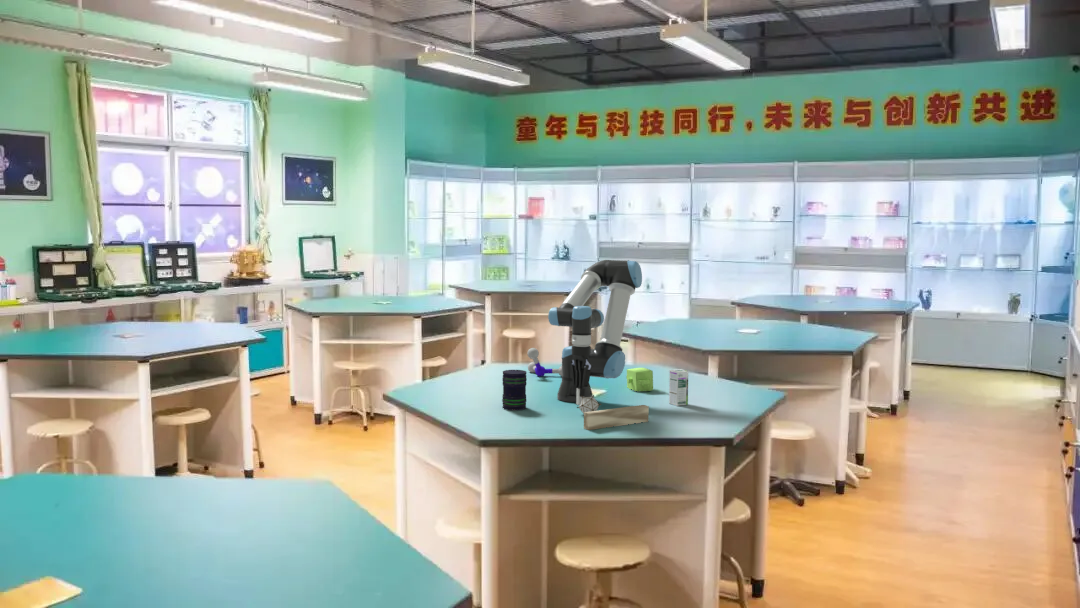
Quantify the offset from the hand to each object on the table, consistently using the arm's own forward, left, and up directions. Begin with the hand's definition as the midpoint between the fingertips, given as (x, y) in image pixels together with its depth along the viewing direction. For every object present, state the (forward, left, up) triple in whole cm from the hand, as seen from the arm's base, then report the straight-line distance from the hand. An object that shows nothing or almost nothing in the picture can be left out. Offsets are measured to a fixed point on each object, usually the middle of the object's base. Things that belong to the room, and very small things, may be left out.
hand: (580, 404), depth 345 cm
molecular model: (-80, +36, -4) cm, 88 cm away
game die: (+6, 0, -4) cm, 7 cm away
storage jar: (-21, -18, -4) cm, 28 cm away
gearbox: (-29, +52, -4) cm, 60 cm away
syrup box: (+6, +46, -4) cm, 47 cm away
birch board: (+24, 0, -4) cm, 24 cm away
